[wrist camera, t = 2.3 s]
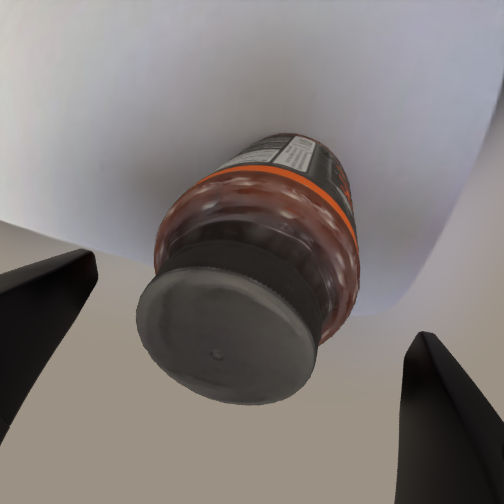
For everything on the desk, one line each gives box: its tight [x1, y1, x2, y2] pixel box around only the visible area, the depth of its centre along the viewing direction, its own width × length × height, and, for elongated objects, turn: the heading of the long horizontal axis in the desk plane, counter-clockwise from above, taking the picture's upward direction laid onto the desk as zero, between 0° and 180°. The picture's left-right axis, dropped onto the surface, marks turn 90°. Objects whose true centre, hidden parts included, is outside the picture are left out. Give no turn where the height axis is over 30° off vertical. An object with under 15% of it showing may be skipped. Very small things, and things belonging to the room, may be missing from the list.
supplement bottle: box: [136, 134, 360, 405], centre depth 11 cm, size 6×6×11 cm
